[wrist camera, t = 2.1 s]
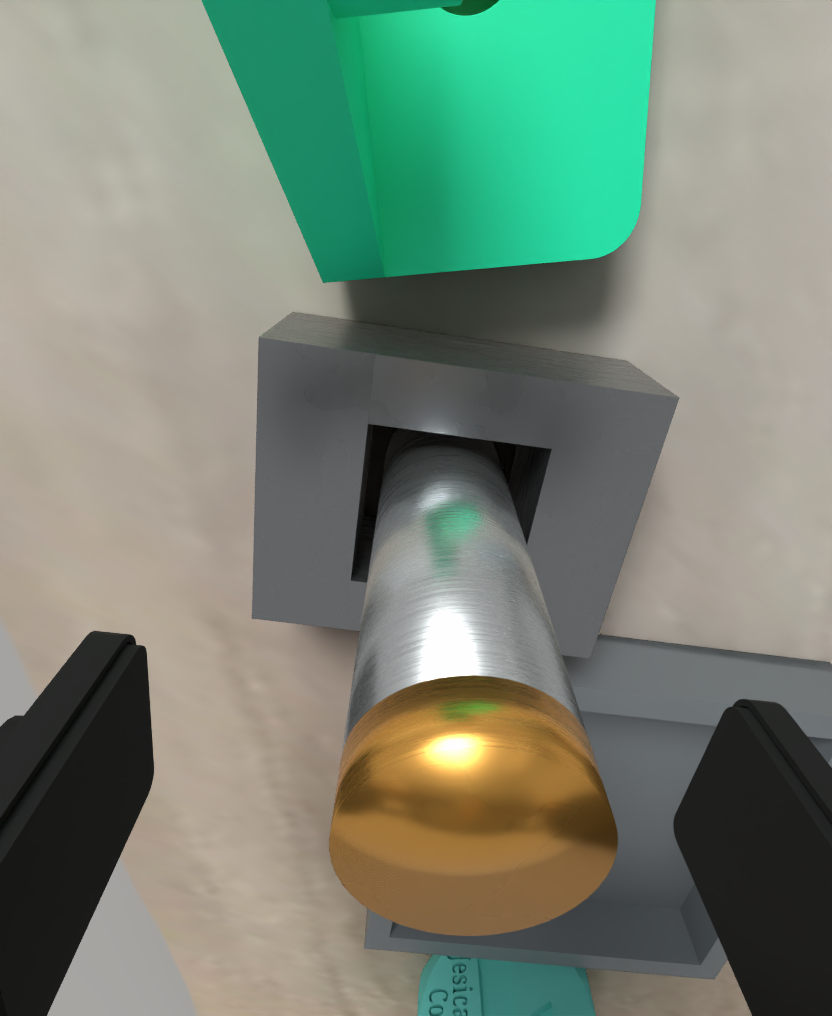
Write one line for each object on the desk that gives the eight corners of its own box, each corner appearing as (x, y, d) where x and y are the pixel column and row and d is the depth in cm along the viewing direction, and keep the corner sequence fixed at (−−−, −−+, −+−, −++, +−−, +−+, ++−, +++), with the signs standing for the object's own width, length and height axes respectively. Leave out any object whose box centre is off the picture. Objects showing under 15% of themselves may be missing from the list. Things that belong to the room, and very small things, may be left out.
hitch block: (627, 360, 18) (679, 397, 14) (561, 583, 21) (589, 658, 18) (292, 311, 17) (258, 337, 14) (281, 548, 21) (251, 618, 17)
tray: (829, 662, 23) (884, 722, 20) (687, 910, 30) (714, 979, 27) (415, 612, 22) (414, 668, 19) (369, 880, 29) (364, 948, 26)
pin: (507, 416, 19) (657, 767, 7) (485, 518, 20) (576, 946, 8) (393, 400, 18) (341, 733, 7) (379, 504, 20) (319, 923, 8)
